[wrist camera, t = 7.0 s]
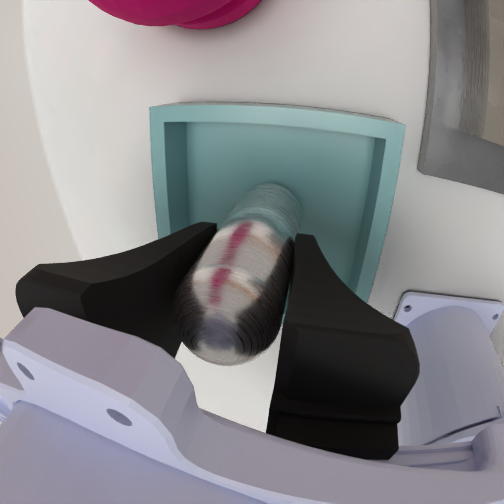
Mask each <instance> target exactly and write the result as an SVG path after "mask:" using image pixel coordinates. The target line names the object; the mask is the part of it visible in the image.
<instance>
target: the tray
mask: <svg viewBox="0 0 504 504" xmlns="http://www.w3.org/2000/svg"><path fill="white" fill-rule="evenodd" d="M149 110H150V140H151V159H152V174H153V188H154V200H155V211H156V221H157V230H158V239H161V238H163V237H165V236H168V235H170V234H172V233H174V232H177V231H179V230H181V229H183V228H186V227H188V226H190V225H193V224H195V223H198V222H211V223H217V230H218V229H219V228H220V226H221V225H222V223H223V222H224V221H225V219H226V218H227V216H228V215H229V214H230V212H231V211H232V210H233V208H234V207H235V205H236V204H237V203H238V201H239V200H240V199H241V197H242V196H243V195H244V193H245V192H246V191H247V190H249V189H250V188H252V187H254V186H256V185H259V184H265V183H271V184H276V185H280V186H282V187H284V188H286V189H287V190H289V191H290V192H291V193H292V194H293V195H294V196H295V197H296V199H297V200H298V202H299V204H300V207H301V212H302V219H301V225H300V231H299V233H301V234H309V235H314V237H315V238H316V240H317V243H318V245H319V247H320V249H321V251H322V253H323V255H324V256H325V258H326V260H327V261H328V263H329V265H330V266H331V268H332V269H333V270H334V272H335V273H336V274H337V276H338V277H339V278H340V279H341V280H342V281H343V282H344V284H345V285H346V286H347V287H348V288H349V289H350V290H351V291H353V292H354V293H355V294H356V295H357V296H358V297H360V298H361V299H362V300H363V301H364V302H366V303H367V302H368V299H369V295H370V292H371V288H372V285H373V281H374V278H375V274H376V271H377V267H378V263H379V259H380V255H381V252H382V248H383V244H384V239H385V235H386V231H387V227H388V222H389V218H390V213H391V208H392V203H393V198H394V193H395V188H396V183H397V177H398V171H399V166H400V159H401V153H402V146H403V139H404V132H405V125H404V124H401V123H399V122H397V121H394V120H392V119H389V118H384V117H379V116H373V115H367V114H361V113H355V112H348V111H341V110H334V109H326V108H317V107H308V106H297V105H285V104H270V103H250V102H179V103H172V104H165V105H159V106H153V107H149ZM289 287H290V284H289ZM288 295H289V289H288V294H287V299H286V304H285V309H284V314H283V319H282V324H283V320H284V317H285V313H286V310H287V305H288Z"/></svg>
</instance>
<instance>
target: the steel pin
mask: <svg viewBox="0 0 504 504" xmlns="http://www.w3.org/2000/svg"><path fill="white" fill-rule="evenodd" d="M301 219H302V212H301V207H300V204H299V202H298V200H297V199H296V197H295V196H294V195H293V194H292V193H291V192H290V191H289V190H287V189H286V188H284V187H282V186H280V185H276V184H271V183H265V184H259V185H256V186H254V187H252V188H250V189H249V190H247V191H246V192H245V193H244V195H243V196H242V197H241V199H240V200H239V201H238V203H237V204H236V205H235V207H234V208H233V210H232V211H231V212H230V214H229V215H228V216H227V218H226V219H225V221H224V222H223V223H222V225H221V226H220V228H219V229H218V230H217V232H216V233H215V235H214V236H213V237H212V239H211V240H210V242H209V243H208V244H207V246H206V247H205V249H204V250H203V251H202V253H201V254H200V256H199V257H198V259H197V260H196V261H195V263H194V264H193V266H192V267H191V269H190V270H189V271H188V273H187V274H186V276H185V277H184V279H183V280H182V282H181V283H180V285H179V287H178V289H177V291H176V294H175V298H174V302H173V319H174V324H175V328H176V331H177V333H178V335H179V337H180V339H181V340H182V342H183V343H184V345H185V346H186V347H187V348H188V349H189V350H190V351H191V352H192V353H193V354H194V355H196V356H197V357H199V358H200V359H202V360H204V361H206V362H209V363H212V364H215V365H221V366H236V365H241V364H244V363H248V362H250V361H252V360H254V359H256V358H258V357H259V356H260V355H262V354H263V353H264V352H265V351H267V349H268V348H269V347H270V346H271V345H272V343H273V342H274V340H275V339H276V337H277V335H278V333H279V330H280V327H281V324H282V319H283V314H284V309H285V304H286V299H287V294H288V289H289V284H290V279H291V274H292V264H293V253H294V244H295V237H296V234H297V233H299V231H300V225H301Z"/></svg>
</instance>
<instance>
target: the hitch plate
mask: <svg viewBox="0 0 504 504" xmlns="http://www.w3.org/2000/svg"><path fill="white" fill-rule="evenodd" d="M430 18H431V37H430V66H429V81H428V94H427V104H426V113H425V121H424V129H423V136H422V143H421V150H420V156H419V162H418V167H417V169H418V170H419V171H420V172H421V173H423V174H426V175H430V176H435V177H439V178H444V179H448V180H452V181H456V182H460V183H464V184H468V185H472V186H476V187H480V188H484V189H487V190H491V191H494V192H498V193H501V194H504V0H430Z"/></svg>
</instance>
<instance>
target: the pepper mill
mask: <svg viewBox="0 0 504 504" xmlns="http://www.w3.org/2000/svg"><path fill="white" fill-rule="evenodd" d="M89 1H90V2H91V3H93V4H94V5H95V6H97V7H98V8H100V9H101V10H102V11H104V12H106V13H108V14H110V15H112V16H114V17H117V18H120V19H122V20H125V21H128V22H131V23H134V24H138V25H145V26H168V25H177V26H180V27H184V28H188V29H211V28H215V27H220V26H224V25H226V24H229V23H231V22H234V21H236V20H238V19H239V18H241V17H243V16H244V15H246V14H247V13H248V12H249V11H251V10H252V9H253V8H254V7H255V6H256V5H257V4H258V3H259V2H260V1H261V0H89Z"/></svg>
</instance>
